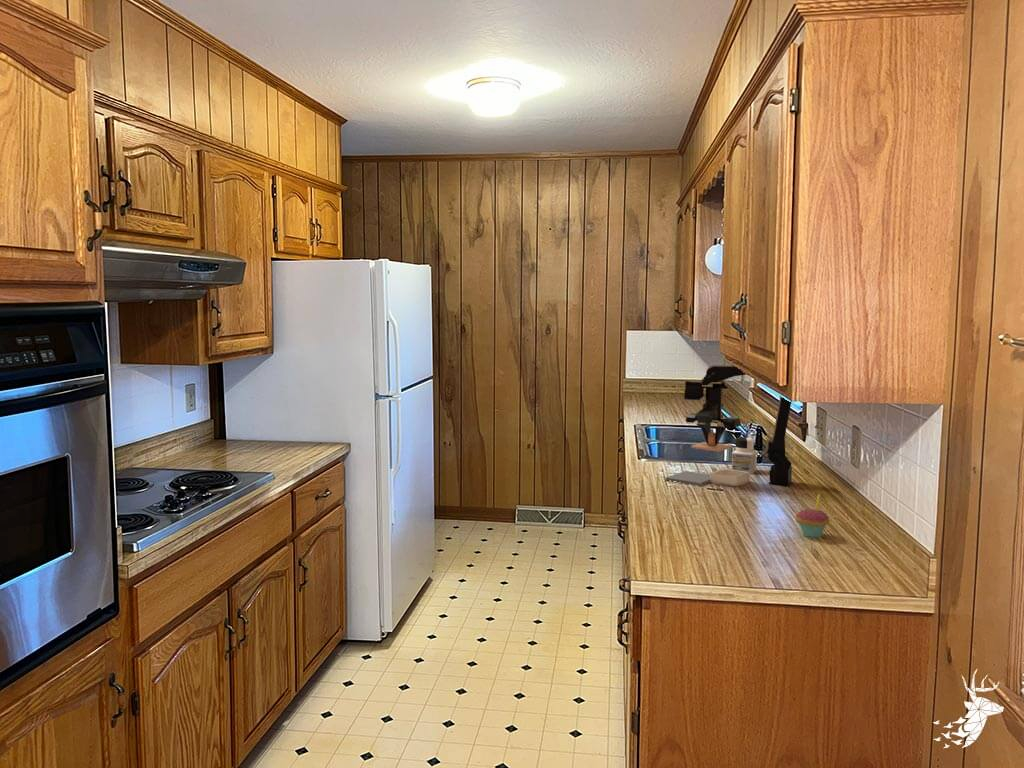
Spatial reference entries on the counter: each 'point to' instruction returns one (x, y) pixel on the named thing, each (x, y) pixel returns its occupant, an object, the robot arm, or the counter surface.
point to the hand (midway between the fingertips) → (712, 444)
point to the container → (744, 455)
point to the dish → (729, 477)
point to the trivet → (690, 478)
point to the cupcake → (812, 521)
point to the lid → (712, 444)
